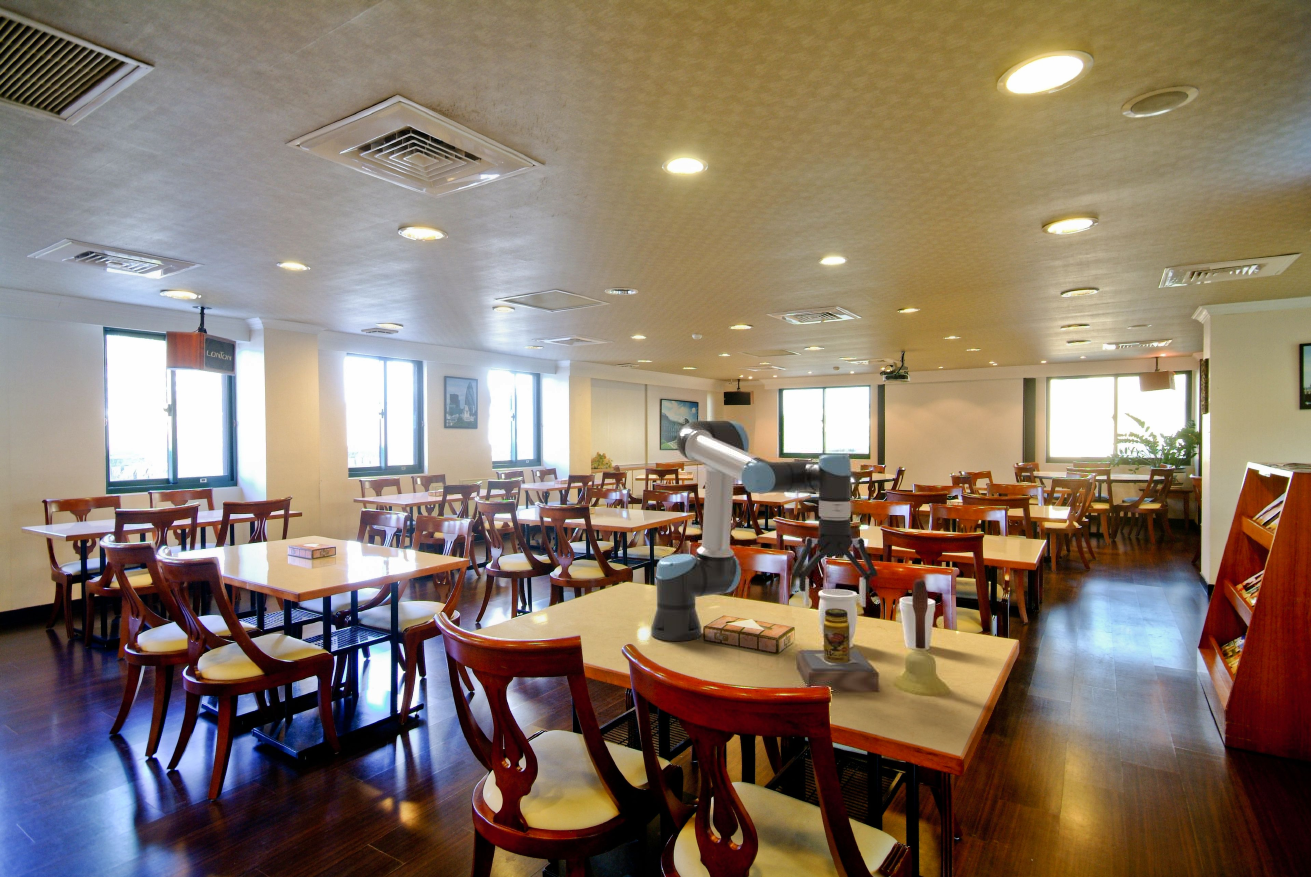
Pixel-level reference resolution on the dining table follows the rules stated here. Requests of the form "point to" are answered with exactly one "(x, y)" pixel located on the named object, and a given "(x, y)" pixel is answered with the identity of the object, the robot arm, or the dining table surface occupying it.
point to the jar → (839, 607)
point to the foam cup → (909, 621)
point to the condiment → (836, 638)
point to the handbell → (920, 654)
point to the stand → (838, 672)
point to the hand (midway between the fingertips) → (834, 605)
